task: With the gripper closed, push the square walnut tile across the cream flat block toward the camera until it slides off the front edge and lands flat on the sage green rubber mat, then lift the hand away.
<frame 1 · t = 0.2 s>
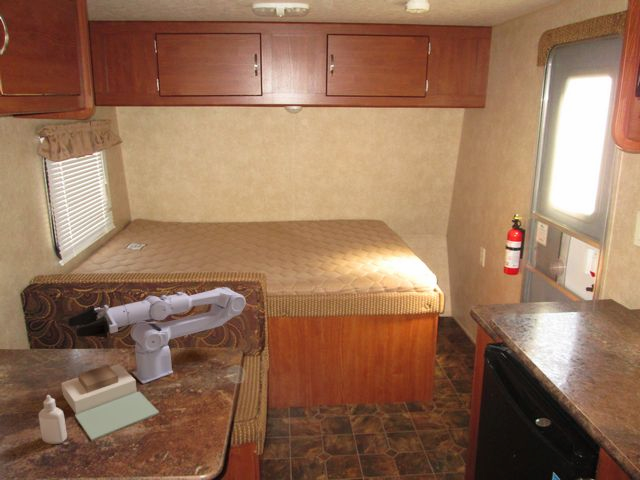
hand: (72, 327, 134), 21 cm above the table, tool horizontal, fingers open, 7 cm apart
cream flat block: (100, 394, 141), on the table
eye dropper bottle: (55, 440, 122), on the table
mat: (117, 415, 132), on the table
walnut tile: (98, 381, 140), point 4 cm above the table, touching cream flat block
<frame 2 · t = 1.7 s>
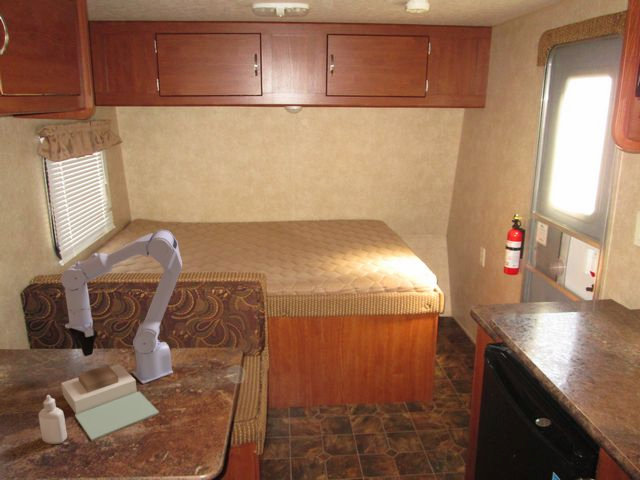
hand: (84, 350, 146), 9 cm above the table, tool pointing down, fingers open, 6 cm apart
nothing on the table moved.
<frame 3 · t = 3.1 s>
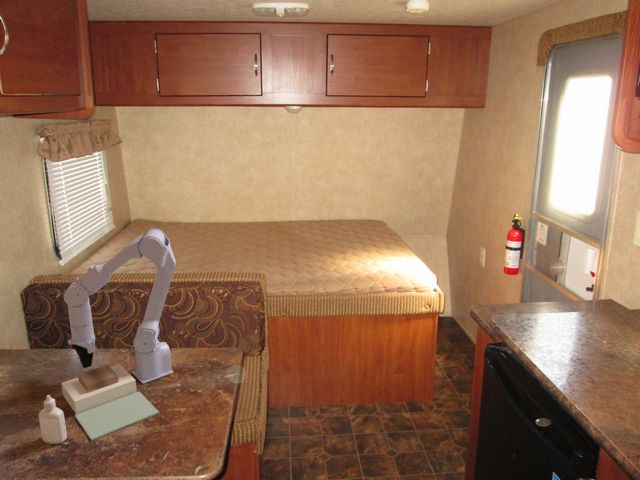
hand: (87, 366, 147), 5 cm above the table, tool pointing down, fingers closed
nothing on the table moved.
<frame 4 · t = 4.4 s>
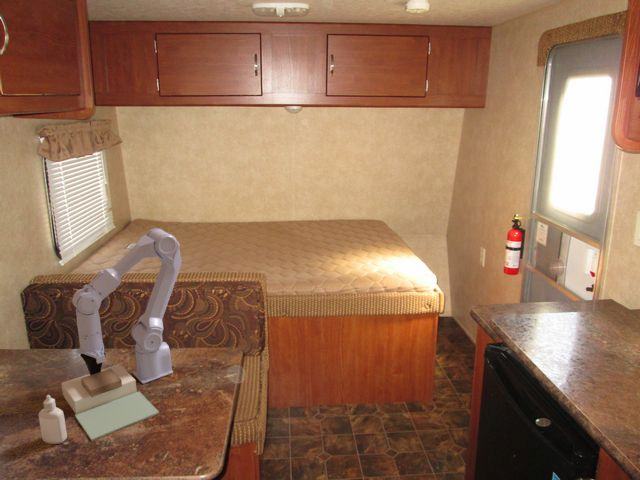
hand: (95, 376, 141), 5 cm above the table, tool pointing down, fingers closed
walnut tile: (102, 385, 138), point 4 cm above the table, touching gripper
everything else where it was.
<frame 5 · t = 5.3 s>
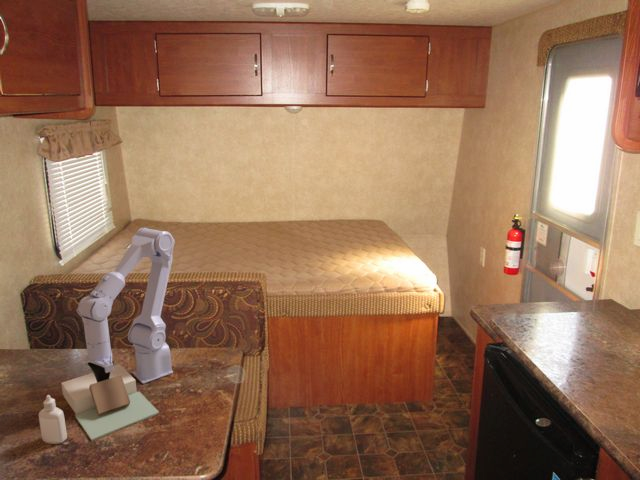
hand: (103, 385, 137), 5 cm above the table, tool pointing down, fingers closed
walnut tile: (109, 396, 134), point 3 cm above the table, tilted 44°, touching gripper, mat
everything else where it was.
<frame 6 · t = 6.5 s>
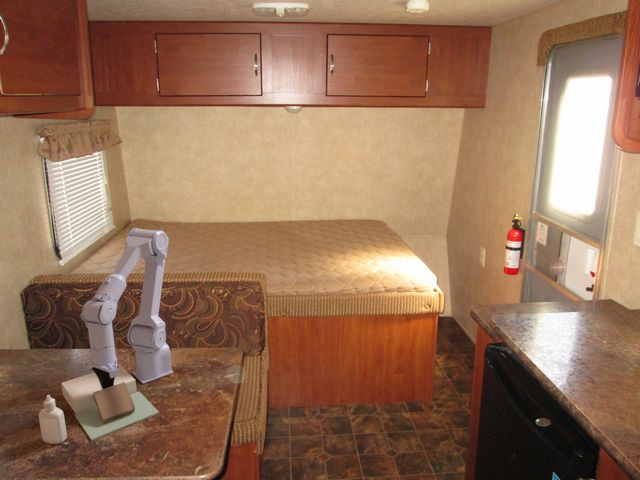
hand: (108, 390, 134), 5 cm above the table, tool pointing down, fingers closed
walnut tile: (113, 403, 132), point 3 cm above the table, tilted 34°, touching gripper, mat
everything else where it was.
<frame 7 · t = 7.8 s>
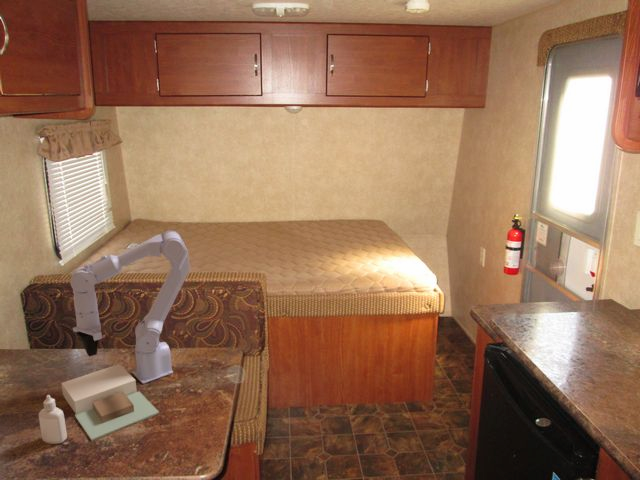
hand: (92, 354, 144), 9 cm above the table, tool pointing down, fingers closed
walnut tile: (113, 410, 133), resting on mat
everything else where it was.
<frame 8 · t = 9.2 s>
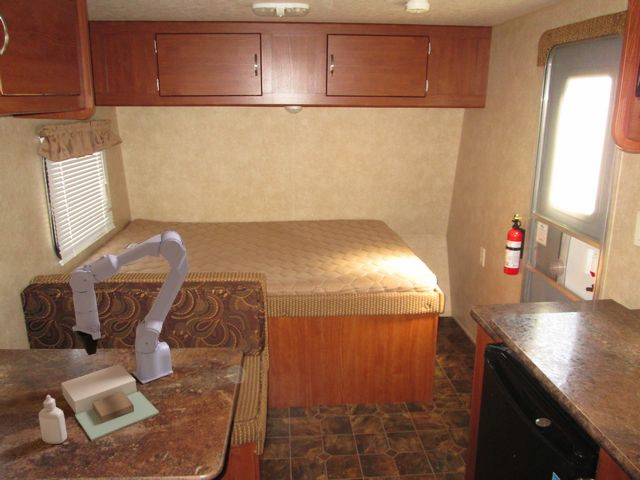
hand: (91, 353, 144), 9 cm above the table, tool pointing down, fingers closed
nothing on the table moved.
at the end: walnut tile inside the target area (2.4 cm from its centre), point 0.5 cm above the table; walnut tile point 0.5 cm above the table; walnut tile tilted 0° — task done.
